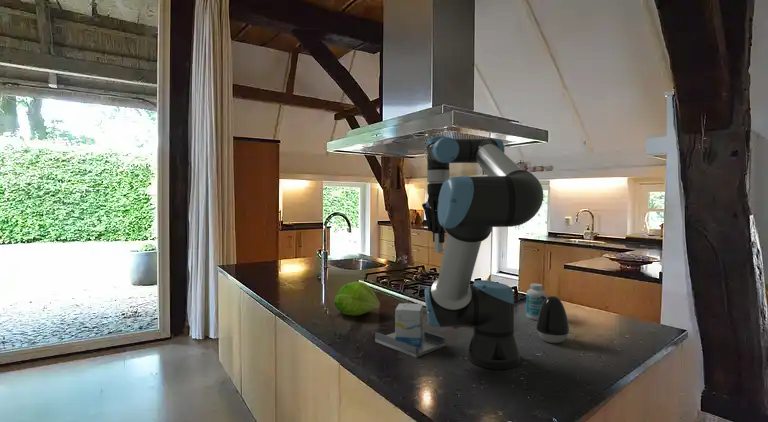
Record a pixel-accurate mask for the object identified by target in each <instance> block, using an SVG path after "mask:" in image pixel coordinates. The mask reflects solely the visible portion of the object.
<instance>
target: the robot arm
mask: <svg viewBox="0 0 768 422" xmlns="http://www.w3.org/2000/svg"><path fill="white" fill-rule="evenodd" d="M426 157H427V158H426V162H427V164H426V165H427V170H426V171H427V172H426V173H427V174H426V177H427V178H426V182H427V183H428V184H427V186H426V187H427V193H426V194H427V195H428V197H427V201H426V202H425V203H422V204H421V207H422V208H423V211H424V215H425V216H424V217H425V220H426V221H425V222H426V225H427V226H426V227H427V230H428V231H429V232H431V233H432V241H433V243H434V253H435V254H438V253H439V254H441V253H442V259H441V264H440V270H439V273H438V278H436V279H435V280H434V281H433V283H432V285H431V286H427V287H425V288H424V301H425V308H426V318H427V322H428V324H429V326H431V327H433V328H434V327H436V328H437V327H438V328H451V327H452V328H454V327H455V328H456V327H473V334H472V337H471V340H470V343H469V346H468V349H467V359H468V360H469V361H470V363H472V364H474V365H476V366H479V367H480V368H481V367H482V368H485V369H490V370H508V369H512V368H515V367H518V366H519V365H520V362H521V359H520V358H521V355H520V351H519V348H518V344H517V342H516V338H515V336H514V335H515V334H514V333H515V332H514V331H515V330H514V327H515V325H514V323H515V322H514V321H515V317H514V316H515V315H514V314H515V300H514V299H515V298H514V297H515V296H514V290H513V288H511V287H510V286H509V285H507V284H505V283H501V282H498V281H493V280H492V281H491V280H484V279H480V280H479V279H478V280H474V282H473V283H472V286H471V284H470V283H471V282H472V277H473V274H474V270H475V266H476V262H477V259H478V255H479V252H480V248H481V244H482V242H483V241H485V240H486V239H487V238H488V237H489V236H490V235H491V232H492V229H493V228H503V227H504V228H508V227H510V228H511V227H517V226H521V225H523V224H525V223H528V222H529V221H530V220H532V219H533V218H534V217H535V216H536V215H537V214H538V212H540V211H539V210H540V209H541V207H542V204H543V201H544V189H543V186H542V183H541V182H540V181H539V178H537V177H536V176H535V175H534V174H533V173H532V172H530V171H528V170H527V169H526V170H525V169H521V168H520V167H519V165H517V164H516V163H515V162H514V161H513V160H512V159H511V158H510V157H509V156H508V155H507V154H506V153H505V145H504V142H503V140H502V139H500V138H492V137H491V138H452V137H450V136H443V135H442V136H439V135H437V136H430V137H428V138H427V142H426ZM450 164H478V165H479V166H480V168H481V169H482V170H483V172H484V173H485V175H486V176H470V175H461V176H460V175H459V176H452V177H451V176H450ZM445 234H446V236H445ZM469 284H470V286H469Z"/></svg>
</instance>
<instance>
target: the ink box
mask: <svg viewBox="0 0 768 422" xmlns="http://www.w3.org/2000/svg"><path fill="white" fill-rule="evenodd" d="M394 311H395V313H394V319H395V321H394V323H395V324H394V326H395V327H394V330H395V331H394V332H395V339H397V340H400V341H403V342H405V343H408V344H411V345H417V346H420V345H421V342H422V339H423V330H424V304H421V303H407V302H405V303H400V302H399V303H398V305H397V306H396V308H395V310H394Z"/></svg>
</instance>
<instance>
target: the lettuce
mask: <svg viewBox="0 0 768 422" xmlns="http://www.w3.org/2000/svg"><path fill="white" fill-rule="evenodd" d="M333 304H334V307H335V308H336V310H338V311H339V312H340V313H341V314H343V315H348V316H356V317H357V316H358V317H359V316H361V315H363V314H366V313H369V312H371V311H374V310H377V309H379V308H380V306H381V303H380V301H379V299H378V297H377V295H376V293H375V292H374V290H372V288H371V287H370V285H368V284H367V283H366V282H363V281H353V282H348V283H346V284H344V285H342V286H341V287H340V289H339V290H337V293H336V294H335V297H334V303H333Z"/></svg>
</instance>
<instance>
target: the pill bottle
mask: <svg viewBox="0 0 768 422" xmlns="http://www.w3.org/2000/svg"><path fill="white" fill-rule="evenodd" d="M529 286H530V288H529V289H528V290H526V297H525V298H526V300H525V301H526V305H525V308H526V309H525V311H526V312H525V314H526V317H527V319H530V320H535V321H537V319H538V314H539V311H540V308H541V306H542V303H543V302H544V300H543V299H542V298H541V296H542V295H543V296H544V297H546V298H547V292H546V291H545V290H543V284H541V283H535V282H534V283H530V284H529Z"/></svg>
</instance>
